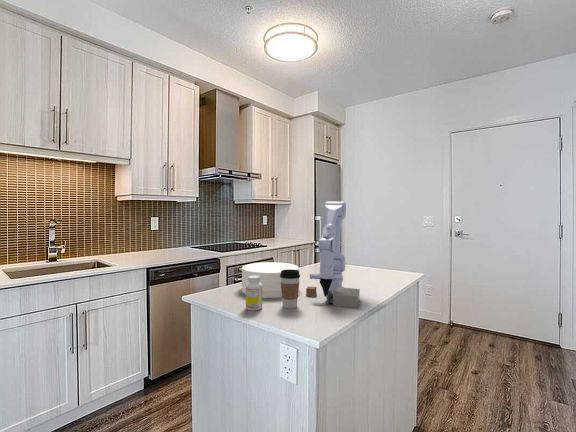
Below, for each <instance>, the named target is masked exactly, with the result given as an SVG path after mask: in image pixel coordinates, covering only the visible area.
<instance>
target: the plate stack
mask: <svg viewBox="0 0 576 432" xmlns="http://www.w3.org/2000/svg"><path fill="white" fill-rule="evenodd" d="M299 268H300V267H299V266H298V265H296V264H292V263H288V262H286V263H285V262H278V261H277V262H275V261H273V262H272V261H271V262H270V261H267V262H263V261H262V262H253V263H249V264H245V265H242V266H241V271H242V272H241V276H242V277H241V292H242V294H244V295H246V284H247V283H248V282H249V280H248V277H249V276H260V280H259V282H260V283H262V299H263V298H266V299H267V298H269V299H270V298H271V299H272V298H273V299H274V298H282V292H281V277H280V274H281V271H282V270H287V269H292V270H298V271H299Z"/></svg>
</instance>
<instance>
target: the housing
mask: <svg viewBox="0 0 576 432" xmlns="http://www.w3.org/2000/svg"><path fill="white" fill-rule="evenodd" d="M333 292H334V291H333ZM360 292H361V291H360V288H351V287H350V288H349V287H344V288H340V287H337V288H336V290H335V292H334V294H333V303H332V304H333V305H332V306H336V307H343V306H344V308H354V307H356V309H357V308H359V304H360V296H361V295H360V294H361V293H360Z"/></svg>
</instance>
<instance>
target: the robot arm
mask: <svg viewBox="0 0 576 432" xmlns="http://www.w3.org/2000/svg"><path fill="white" fill-rule="evenodd" d="M324 213H325V215H326V217H327V218H326V219H327V221H326V224H325V225H324V226H323V228H322V229H323V230H322V234H321V237H320V238H319V239H318V254H319V273H310V274H309V280H312V279H313V280H319V284H320V285H321V289H322V291H323V297H325V298H326V296H327V294H328V292H329V291H330V289H331V288H332V292H335V290H336V288H337V287H340V288H345V287H344V286H343V281H344V275H343V273H344V272H345V270H346V257H345V255H344V254H343V253H341V251H340V250H341V234H342V233H341V231H342V221H343V220H344V219H346V215H347V214H346V213H347V203H346V202H345V201H328V200H326V202H325V203H324Z"/></svg>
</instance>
